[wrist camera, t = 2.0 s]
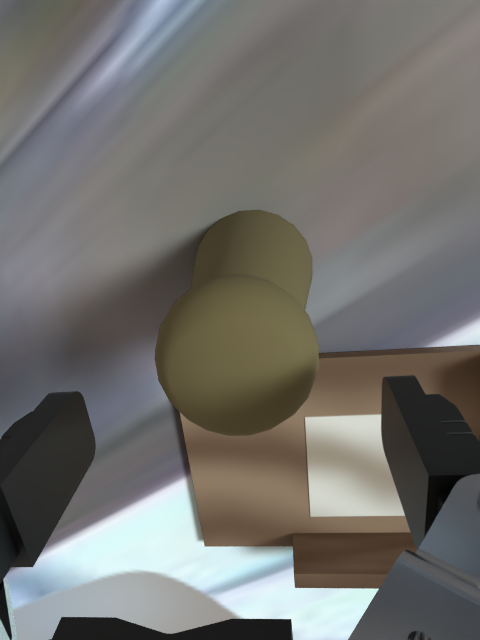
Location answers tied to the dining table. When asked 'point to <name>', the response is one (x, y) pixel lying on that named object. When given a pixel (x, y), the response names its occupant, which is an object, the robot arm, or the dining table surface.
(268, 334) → the olive double-lobed piece
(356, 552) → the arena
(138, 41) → the dining table surface
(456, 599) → the robot arm
